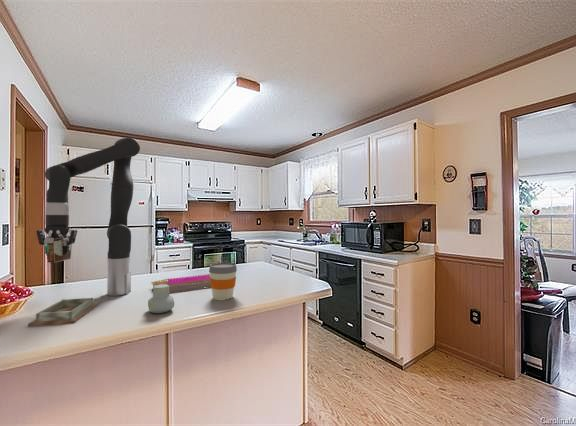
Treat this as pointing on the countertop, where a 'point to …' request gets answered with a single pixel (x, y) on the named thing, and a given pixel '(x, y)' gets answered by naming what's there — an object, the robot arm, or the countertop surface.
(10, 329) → the countertop surface
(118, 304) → the countertop surface
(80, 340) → the countertop surface
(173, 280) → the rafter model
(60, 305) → the holder
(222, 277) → the reusable coffee cup
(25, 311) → the countertop surface
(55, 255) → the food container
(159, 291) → the pale grey rounded vessel
